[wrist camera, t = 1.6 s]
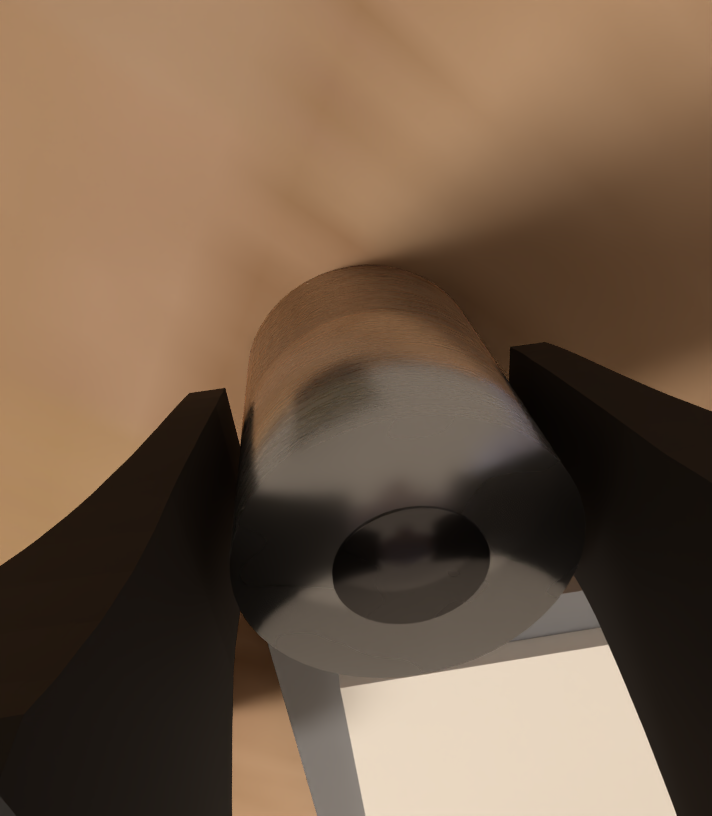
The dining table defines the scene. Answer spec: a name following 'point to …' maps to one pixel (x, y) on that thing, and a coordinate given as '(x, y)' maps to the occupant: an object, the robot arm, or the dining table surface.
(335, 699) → the kitchen scale
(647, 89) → the dining table surface
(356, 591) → the steel spacer
